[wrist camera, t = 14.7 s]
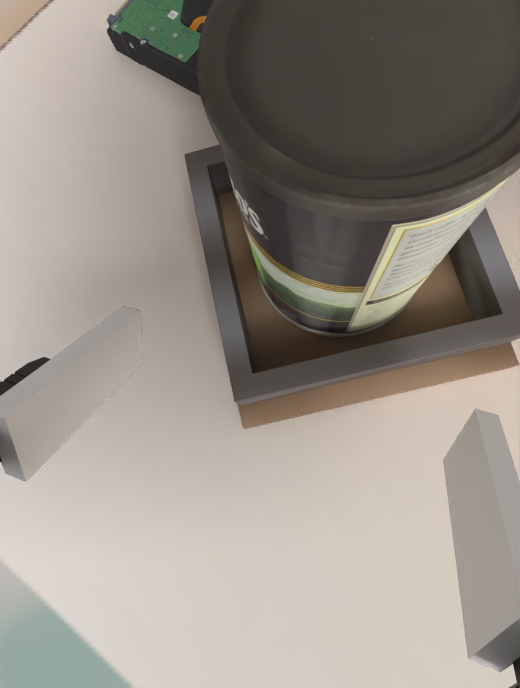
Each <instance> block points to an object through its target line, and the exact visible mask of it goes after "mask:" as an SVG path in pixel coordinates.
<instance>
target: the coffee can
mask: <svg viewBox="0 0 520 688" xmlns="http://www.w3.org/2000/svg"><path fill="white" fill-rule="evenodd" d="M197 73H198V83H199V89H200V96H201V99H202V102H203V105H204V108H205V111H206V114H207V117H208V119H209V122H210V124H211V126H212V129H213V131H214V133H215V136H216V138H217V139H218V141H219V144H220V146H221V149H222V153H223V156H224V160H225V164H226V166H227V169H228V172H229V176H230V180H231V183H232V187H233V190H234V194H235V197H236V200H237V204H238V207H239V210H240V213H241V216H242V219H243V223H244V226H245V230H246V233H247V236H248V240H249V243H250V246H251V249H252V253H253V256H254V260H255V263H256V267H257V273H258V278H259V281H260V284H261V287H262V290H263V292H264V294H265V295H266V297H267V299H268V300H269V302H270V303H271V305H272V306H273V307H274V308H275V310H276V311H277V312H278V313H279V314H280V315H281V316H282V317H283V318H285V319H286V320H287V321H289V322H290V323H292V324H294V325H295V326H297V327H299V328H301V329H303V330H306V331H308V332H311V333H315V334H318V335H324V336H332V337H348V336H355V335H359V334H363V333H367V332H370V331H372V330H375V329H377V328H379V327H381V326H383V325H384V324H386V323H387V322H389V321H390V320H392V319H393V318H394V317H396V316H397V315H398V314H399V313H400V312H401V311H402V310H403V309H404V308H405V307H406V306H407V304H408V303H409V302H410V300H411V299H412V297H413V295H414V293H415V292H416V291H417V290H418V288H419V287H420V286H421V285H422V284H423V282H424V281H425V280H426V279H427V277H428V276H429V275H430V274H431V272H432V271H433V270H434V269H435V267H436V266H437V265H438V264H439V263H440V262H441V261H442V259H443V258H444V257H445V255H446V254H447V253H448V252H449V251H450V249H451V248H452V247H453V246H454V244H455V243H456V242H457V241H458V239H459V238H460V237H461V236H462V235H463V233H464V232H465V231H466V230H467V229H468V227H469V226H470V225H471V224H472V223H473V221H474V220H475V219H476V218H477V217H478V215H479V214H480V213H481V212H482V211H483V209H484V208H485V207H486V206H487V204H488V203H489V202H490V201H491V199H492V198H493V197H494V196H495V195H496V193H497V192H498V191H499V190H500V188H501V187H502V186H503V185H504V184H505V182H506V181H507V180H508V179H509V177H510V176H511V175H512V174H513V173H514V172H516V171H517V170H518V169H519V168H520V0H214V1H213V3H212V5H211V7H210V9H209V11H208V14H207V16H206V19H205V21H204V24H203V27H202V31H201V35H200V39H199V46H198V60H197Z"/></svg>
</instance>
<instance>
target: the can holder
mask: <svg viewBox="0 0 520 688" xmlns="http://www.w3.org/2000/svg"><path fill="white" fill-rule="evenodd" d="M185 160H186V165H187V170H188V174H189V179H190V184H191V189H192V194H193V199H194V204H195V209H196V214H197V219H198V224H199V229H200V234H201V238H202V243H203V248H204V253H205V258H206V263H207V268H208V273H209V278H210V283H211V288H212V293H213V298H214V302H215V307H216V312H217V317H218V322H219V327H220V332H221V337H222V342H223V347H224V352H225V357H226V362H227V366H228V371H229V376H230V381H231V386H232V391H233V396H234V401H235V402H237V403H238V406H239V411H240V415H241V420H242V425H243V428H250V427H254V426H259V425H263V424H268V423H272V422H276V421H281V420H285V419H289V418H294V417H298V416H302V415H307V414H311V413H315V412H320V411H324V410H328V409H333V408H337V407H341V406H346V405H350V404H354V403H359V402H363V401H368V400H372V399H376V398H381V397H385V396H389V395H394V394H398V393H402V392H407V391H411V390H415V389H420V388H424V387H428V386H433V385H437V384H441V383H446V382H450V381H455V380H459V379H463V378H468V377H472V376H476V375H481V374H485V373H489V372H494V371H498V370H502V369H507V368H510V367H514V366H517V365H519V363H518V360H517V358H516V355H515V353H514V350H513V347H512V345H511V341H514V340H516V339H518V338H520V290H519V288H518V285H517V283H516V280H515V278H514V275H513V273H512V271H511V268H510V266H509V263H508V261H507V258H506V256H505V254H504V251H503V249H502V246H501V244H500V242H499V239H498V237H497V234H496V232H495V229H494V227H493V225H492V222H491V220H490V217H489V215H488V212H487V210H486V208H484V209H483V211H482V212H481V213H480V214H479V215H478V217H477V218H476V219H475V220H474V221H473V223H472V224H471V225H470V226H469V227H468V229H467V230H466V231H465V232H464V233H463V235H462V236H461V237H460V238H459V239H458V241H457V242H456V243H455V244H454V246H453V247H452V248H451V249H450V251H449V252H448V253H447V254H446V255H445V257H444V258H443V259H442V261H441V262H440V263H439V264H438V265H437V266H436V267H435V269H434V270H433V271H432V272H431V274H430V275H429V276H428V277H427V279H426V280H425V281H424V282H423V284H422V285H421V286H420V287H419V288H418V290H417V291H416V292H415V293H414V295H413V297H412V299H411V300H410V302H409V303H408V304H407V306H406V307H405V308H404V309H403V310H402V311H401V312H400V313H399V314H398V315H397V316H396V317H394V318H393V319H392V320H390V321H389V322H387V323H386V324H384V325H383V326H381V327H379V328H377V329H375V330H372V331H370V332H367V333H363V334H359V335H355V336H348V337H332V336H324V335H318V334H315V333H311V332H308V331H306V330H303V329H301V328H299V327H297V326H295V325H294V324H292V323H290V322H289V321H287V320H286V319H285V318H283V317H282V316H281V315H280V314H279V313H278V312H277V311H276V310H275V308H274V307H273V306H272V305H271V303H270V302H269V300H268V299H267V297H266V295H265V294H264V292H263V290H262V287H261V284H260V281H259V278H258V273H257V267H256V263H255V260H254V256H253V253H252V249H251V246H250V243H249V240H248V236H247V233H246V230H245V226H244V223H243V219H242V216H241V213H240V210H239V207H238V204H237V200H236V197H235V194H234V190H233V187H232V183H231V180H230V176H229V172H228V169H227V166H226V164H225V160H224V156H223V153H222V149H221V146H220V145H217V146H214V147H210V148H206V149H203V150H199V151H195V152H192V153H188V154H185Z"/></svg>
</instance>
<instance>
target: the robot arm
mask: <svg viewBox="0 0 520 688" xmlns="http://www.w3.org/2000/svg"><path fill="white" fill-rule="evenodd" d="M142 364H143V355H142V332H141V311H140V310H136V309H133V308H130V307H126V306H123V307H122V308H120V309H119V310H118V311H116V312H115V313H114V314H112V315H111V316H109V317H108V318H107V319H105V320H104V321H103V322H101V323H100V324H98V325H97V326H96V327H94V328H93V329H92V330H90V331H89V332H88V333H86V334H85V335H83V336H82V337H81V338H79V339H78V340H77V341H75V342H74V343H72V344H71V345H70V346H68V347H67V348H66V349H64V350H63V351H61V352H60V353H59V354H57V355H56V356H55V357H53V358H52V359H48V358H45V357H43V358H40V359H37V360H35V361H32V362H30V363H27V364H26V365H25V366H23V367H22V368H20V369H19V370H17V371H16V372H15V374H12V375H10V376H9V377H7V378H6V379H4V382H2V381H1V382H0V462H1V463H2V466H3V468H4V471H5V474H8V475H10V476H13V477H15V478H18V479H20V480H23V481H25V482H26V481H27V480H28V479H29V478H30V477H31V476H32V475H33V474H34V473H35V472H36V471H37V470H38V469H39V468H40V467H41V466H42V465H43V464H44V463H45V462H46V461H47V460H48V459H49V458H50V457H51V456H52V455H53V454H54V453H55V452H56V451H57V450H58V449H59V448H60V447H61V446H62V445H63V444H64V443H65V442H66V441H67V440H68V439H69V438H70V437H71V436H72V435H73V434H74V433H75V432H76V431H77V430H78V429H79V428H80V427H81V426H82V425H83V424H84V423H85V422H86V421H87V420H88V419H89V418H90V417H91V416H92V415H93V414H94V413H95V412H96V411H97V410H98V409H99V408H100V407H101V406H102V405H103V404H104V403H105V402H106V401H107V400H108V399H109V398H110V397H111V396H112V395H113V394H114V393H115V392H116V391H117V390H118V389H119V388H120V386H121V385H122V384H123V383H124V382H125V381H126V380H127V379H128V378H129V377H130V376H131V375H132V374H133V373H134V372H135V371H136V370H137V369H138V368H139V367H140V366H141V365H142ZM443 461H444V469H445V477H446V485H447V493H448V501H449V509H450V517H451V525H452V533H453V541H454V549H455V557H456V565H457V573H458V581H459V589H460V597H461V605H462V613H463V621H464V629H465V637H466V645H467V653H468V659H469V660H471V661H474V662H476V663H479V664H481V665H484V666H486V667H489V668H491V669H494V670H496V671H499V672H502V671H503V670H504V669H506V668H507V667H509V666H510V665H512V664H513V665H514V670H515V675H516V680H517V683H516V684H514V685H513V686H511V687H509V688H520V482H519V479H518V476H517V472H516V469H515V466H514V463H513V460H512V457H511V454H510V451H509V447H508V444H507V441H506V438H505V435H504V432H503V429H502V426H501V422H500V419H499V416H498V415H495V414H492V413H488V412H485V411H481V410H478V409H475V410H474V411H473V413H472V415H471V416H470V418H469V419H468V421H467V423H466V424H465V426H464V427H463V429H462V431H461V432H460V434H459V435H458V437H457V439H456V440H455V442H454V443H453V445H452V447H451V448H450V450H449V451H448V453H447V455H446V456H445V458H444V459H443Z"/></svg>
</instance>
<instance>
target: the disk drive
mask: <svg viewBox="0 0 520 688" xmlns="http://www.w3.org/2000/svg"><path fill="white" fill-rule="evenodd" d="M213 1H214V0H127V1H126V2H125V3H124V4H123V5H122V6H121V8H120V9H119V10H118V11H117V12H116V13H115V16H113V15H111V14H110V15H109V17H108V19H107V22H108V24H109V26H110V27H109V28H108V29H107V33H108V35H109V37H110V39H111V41H112V43H113V45H114V47H115V48H116V50H117V51H119V52H121V53H122V54H124V55H126V56H128V57H129V58H131V59H132V60H134V61H136V62H138V63H139V64H141V65H144V66H146V67H148V68H150V69H152V70H153V71H155V72H157V73H159V74H161V75H163V76H165V77H166V78H168V79H170V80H172V81H174V82H175V83H177V84H179V85H181V86H183V87H185V88H186V89H188V90H190V91H192V92H194V93H196V94H198V95H200V89H199V83H198V73H197V60H198V46H199V39H200V35H201V31H202V27H203V24H204V21H205V19H206V16H207V14H208V11H209V9H210V7H211V5H212V3H213Z"/></svg>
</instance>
